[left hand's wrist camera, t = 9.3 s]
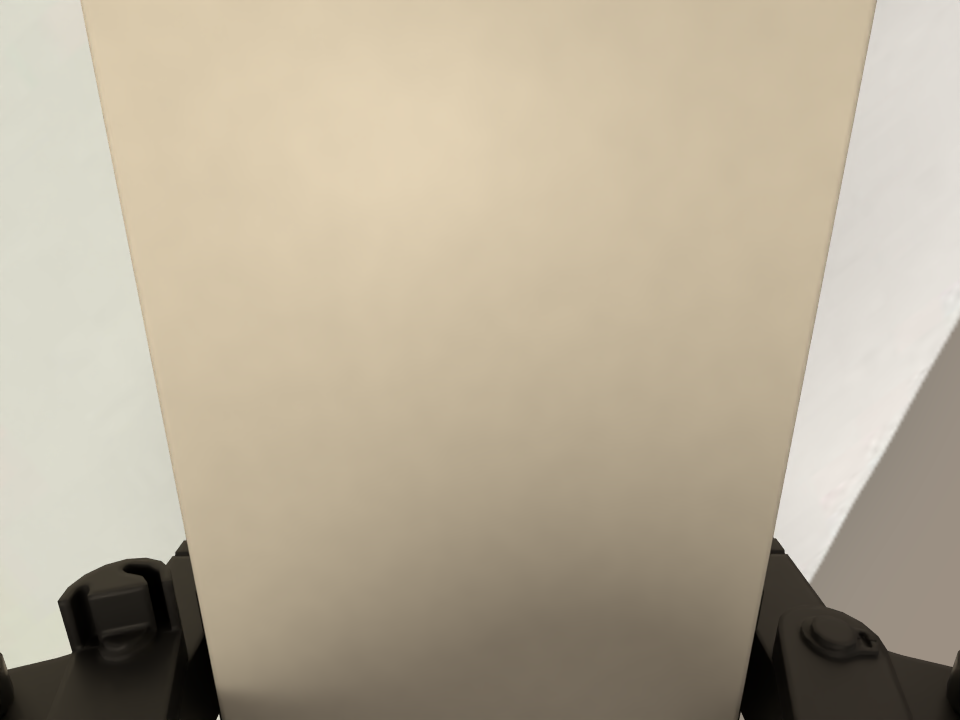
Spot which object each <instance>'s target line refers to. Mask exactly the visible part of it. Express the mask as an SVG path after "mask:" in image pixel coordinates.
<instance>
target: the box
mask: <svg viewBox="0 0 960 720" xmlns="http://www.w3.org/2000/svg"><path fill="white" fill-rule="evenodd" d="M80 1H81V6H82V11H83V16H84V21H85V26H86V31H87V36H88V41H89V46H90V51H91V56H92V62H93V67H94V72H95V77H96V82H97V87H98V92H99V97H100V102H101V107H102V112H103V117H104V122H105V128H106V133H107V138H108V143H109V148H110V153H111V158H112V163H113V168H114V173H115V178H116V183H117V188H118V194H119V199H120V204H121V209H122V214H123V219H124V224H125V229H126V234H127V239H128V244H129V249H130V254H131V260H132V265H133V270H134V275H135V280H136V285H137V290H138V295H139V300H140V305H141V310H142V315H143V320H144V326H145V331H146V336H147V341H148V346H149V351H150V356H151V361H152V366H153V371H154V376H155V381H156V387H157V392H158V397H159V402H160V407H161V412H162V417H163V422H164V427H165V432H166V437H167V442H168V447H169V453H170V458H171V463H172V468H173V473H174V478H175V483H176V488H177V493H178V498H179V503H180V508H181V513H182V519H183V524H184V529H185V534H186V539H187V544H188V549H189V554H190V559H191V564H192V569H193V574H194V579H195V585H196V590H197V595H198V600H199V605H200V610H201V615H202V620H203V625H204V630H205V635H206V640H207V646H208V651H209V656H210V661H211V666H212V671H213V676H214V681H215V686H216V691H217V696H218V701H219V706H220V712H221V717H222V720H738V715H739V710H740V705H741V700H742V695H743V689H744V684H745V679H746V674H747V669H748V664H749V658H750V653H751V648H752V643H753V638H754V633H755V627H756V622H757V617H758V612H759V607H760V602H761V596H762V591H763V586H764V581H765V576H766V571H767V565H768V560H769V555H770V550H771V545H772V540H773V534H774V529H775V524H776V519H777V514H778V509H779V503H780V498H781V493H782V488H783V483H784V478H785V473H786V467H787V462H788V457H789V452H790V447H791V442H792V436H793V431H794V426H795V421H796V416H797V411H798V405H799V400H800V395H801V390H802V385H803V380H804V374H805V369H806V364H807V359H808V354H809V349H810V343H811V338H812V333H813V328H814V323H815V318H816V312H817V307H818V302H819V297H820V292H821V287H822V281H823V276H824V271H825V266H826V261H827V256H828V250H829V245H830V240H831V235H832V230H833V225H834V219H835V214H836V209H837V204H838V199H839V194H840V189H841V183H842V178H843V173H844V168H845V163H846V158H847V152H848V147H849V142H850V137H851V132H852V127H853V121H854V116H855V111H856V106H857V101H858V96H859V90H860V85H861V80H862V75H863V70H864V65H865V59H866V54H867V49H868V44H869V39H870V34H871V28H872V23H873V18H874V13H875V8H876V3H877V0H80Z"/></svg>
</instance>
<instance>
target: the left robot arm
mask: <svg viewBox="0 0 960 720" xmlns="http://www.w3.org/2000/svg"><path fill="white" fill-rule="evenodd" d="M58 605H59V608H60V611H61V615H62V618H63V622H64V625H65V628H66V632H67V635H68V639H69V642H70V646H71V649H72V654H69V655H66V656H62V657H59V658H55V659H51V660H47V661H42V662H38V663H34V664H30V665H25V666H21V667H17V668H13V669H8V670H7V667H6V664H5V661H4V658H3V655H2V654H1V653H0V720H216V719H217V717H218V715H220V720H222V717H221V712H220V706H219V701H218V696H217V691H216V686H215V681H214V676H213V671H212V666H211V661H210V656H209V651H208V646H207V640H206V635H205V630H204V625H203V620H202V615H201V610H200V605H199V600H198V595H197V590H196V585H195V579H194V574H193V569H192V564H191V559H190V554H189V549H188V544H187V539H186V541H183V543H182V544H181V545H180V547H179V548H178V549H177V551H176V552H175V556H172V558H171V559H170V560H169V562H168V563H167V565H165V564H164V563H163V562H162V561H158V560H154V559H149V558H135V559H125V560H122V561H118V562H114V563H111V564H107V565H104V566H102V567H100V568H98V569H96V570H94V571H92V572H90V573H87V574H85V575H84V576H83V577H81V578H80V579H79V580H77V581H76V582H75V583H73V584H72V585H71V586H69V587H68V588H67V589H66V591H65V592H64V593H63V595H62V596H61V597H60V599H59V600H58ZM740 713H742V715H743V717H744V719H745V720H960V650H959V651H958V654H957V657H956V660H955V662H954V665H953V667H950V666H946V665H941V664H937V663H933V662H928V661H924V660H920V659H916V658H911V657H907V656H903V655H900V654H896V653H893V652H890V651H887V649H886V648H885V646H884V645H883V643H882V641H881V640H880V638H879V637H878V636H877V635H876V634H875V633H874V632H873V631H871V630H870V629H869V628H868V627H867V626H865V625H864V624H863V623H862V622H860V621H858V620H856V619H854V618H853V617H851V616H849V615H847V614H845V613H843V612H840V611H837V610H834V609H831V608H827V607H826V606H825V605H824V603H823V602H822V601H821V599H820V598H819V597H818V595H817V594H816V593H815V591H814V590H813V589H812V587H811V586H810V584H809V583H808V582H807V580H806V579H805V577H804V576H803V575H802V573H801V572H800V571H799V569H798V568H797V567H796V565H795V564H794V562H793V561H792V560H791V558H790V557H789V556H788V554H785V550H784V549H783V547H782V546H781V545H780V543H779V542H778V541H777V539H776V538H773V540H772V545H771V550H770V555H769V560H768V565H767V571H766V576H765V581H764V586H763V591H762V596H761V602H760V607H759V612H758V617H757V622H756V627H755V633H754V638H753V643H752V648H751V653H750V658H749V664H748V669H747V674H746V679H745V684H744V689H743V695H742V700H741V705H740V710H739V715H738V720H739V718H740Z"/></svg>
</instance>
